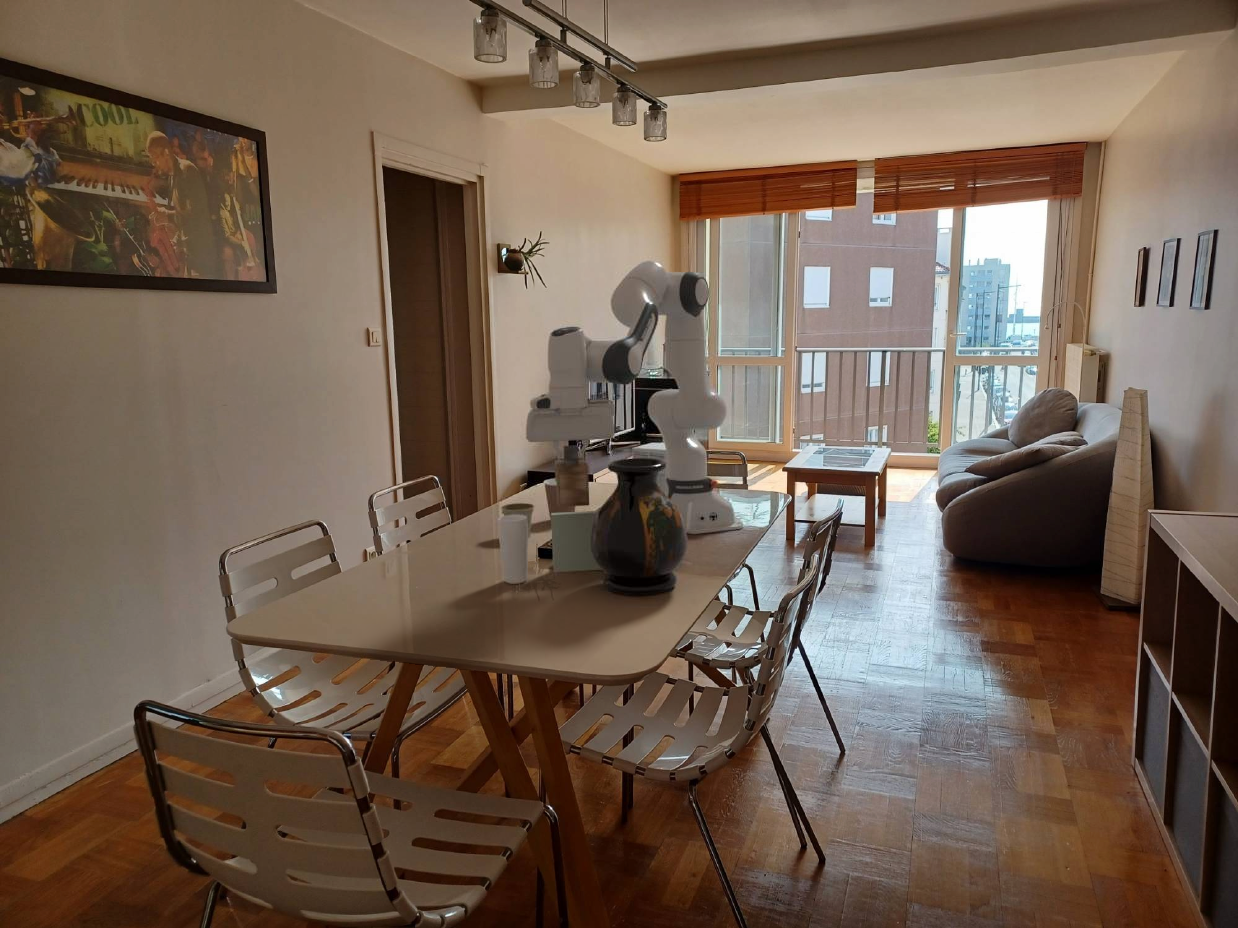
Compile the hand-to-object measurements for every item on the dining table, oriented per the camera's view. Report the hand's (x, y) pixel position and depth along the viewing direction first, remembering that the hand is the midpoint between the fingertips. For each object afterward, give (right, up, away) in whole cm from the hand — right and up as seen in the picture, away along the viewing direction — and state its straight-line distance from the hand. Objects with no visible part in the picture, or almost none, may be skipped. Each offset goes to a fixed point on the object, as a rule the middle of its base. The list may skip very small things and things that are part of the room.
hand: (571, 459), depth 196 cm
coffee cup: (-6, -18, +60) cm, 63 cm away
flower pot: (-17, -22, +42) cm, 50 cm away
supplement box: (+25, -12, +89) cm, 93 cm away
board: (+3, -26, +11) cm, 28 cm away
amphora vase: (+16, -28, -5) cm, 33 cm away
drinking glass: (-13, -28, +1) cm, 31 cm away
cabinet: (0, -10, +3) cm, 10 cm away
